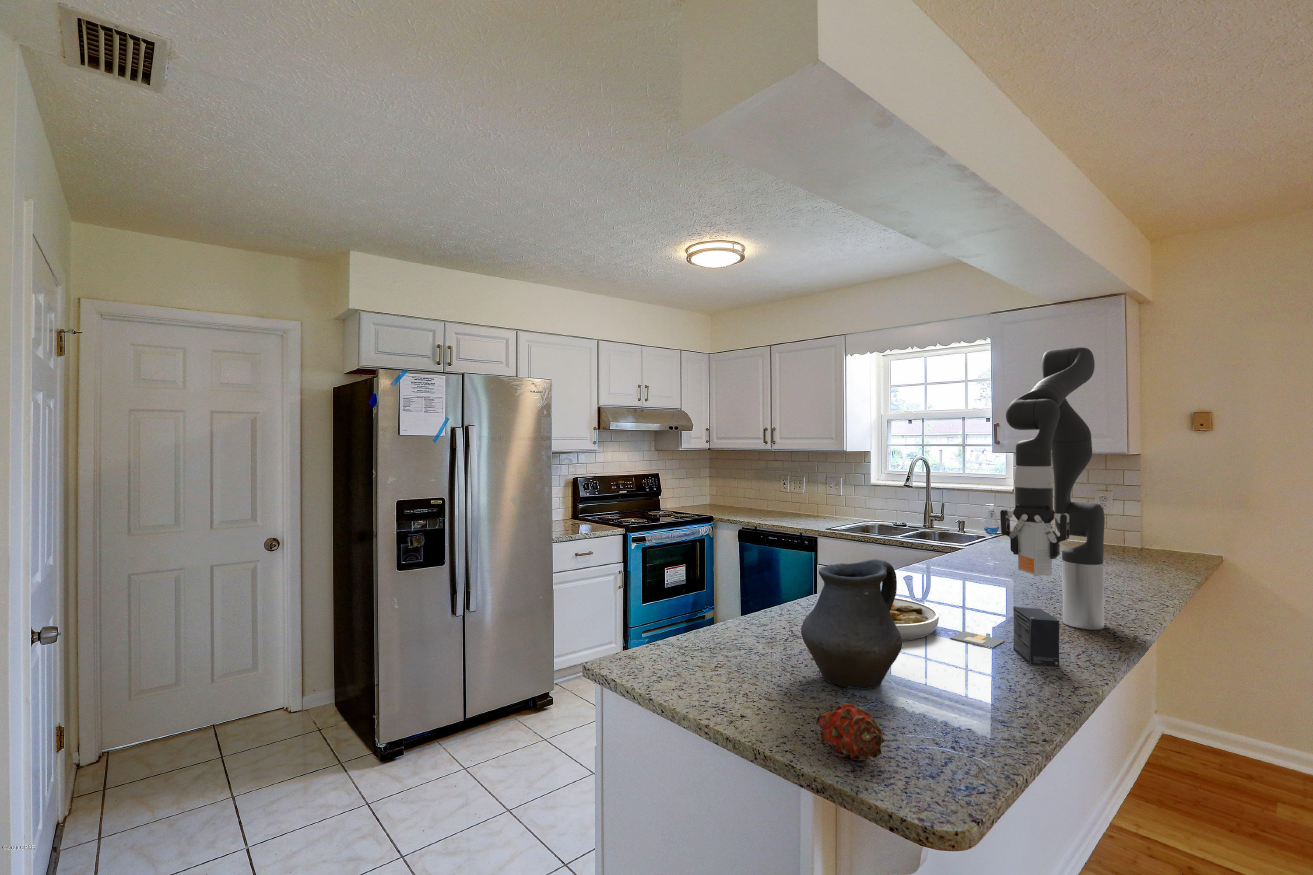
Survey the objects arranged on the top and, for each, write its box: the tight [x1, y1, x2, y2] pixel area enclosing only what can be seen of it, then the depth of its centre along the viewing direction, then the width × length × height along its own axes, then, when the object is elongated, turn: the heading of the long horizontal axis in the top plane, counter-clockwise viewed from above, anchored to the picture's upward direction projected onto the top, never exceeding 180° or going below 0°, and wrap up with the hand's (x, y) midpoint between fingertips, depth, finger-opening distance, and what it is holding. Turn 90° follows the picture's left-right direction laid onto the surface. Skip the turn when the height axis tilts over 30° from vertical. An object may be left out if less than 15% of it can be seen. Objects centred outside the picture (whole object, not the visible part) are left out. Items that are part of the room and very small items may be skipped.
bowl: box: [890, 597, 940, 641], centre depth 167 cm, size 30×30×8 cm
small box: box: [1012, 606, 1060, 667], centre depth 142 cm, size 11×6×10 cm, turn 169°
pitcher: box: [800, 558, 904, 690], centre depth 130 cm, size 21×22×25 cm
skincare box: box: [1017, 522, 1053, 577], centre depth 142 cm, size 6×4×12 cm
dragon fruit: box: [812, 702, 886, 762], centre depth 99 cm, size 8×8×12 cm
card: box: [950, 631, 1006, 649], centre depth 155 cm, size 8×10×1 cm
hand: (1034, 556), depth 142 cm, fingers closed on skincare box, 7 cm apart
